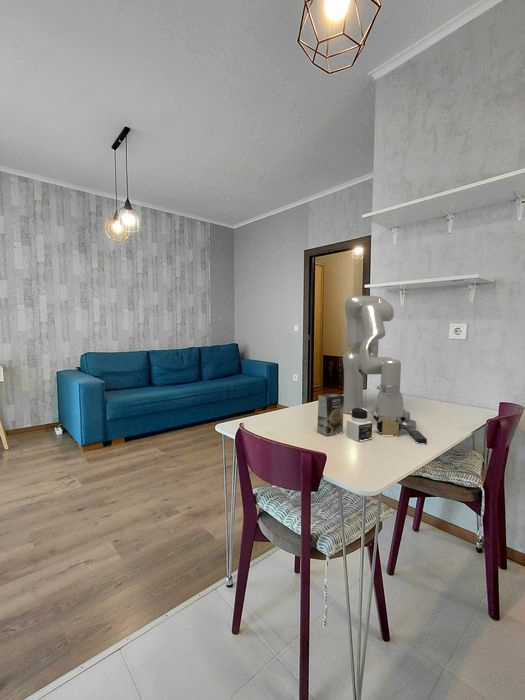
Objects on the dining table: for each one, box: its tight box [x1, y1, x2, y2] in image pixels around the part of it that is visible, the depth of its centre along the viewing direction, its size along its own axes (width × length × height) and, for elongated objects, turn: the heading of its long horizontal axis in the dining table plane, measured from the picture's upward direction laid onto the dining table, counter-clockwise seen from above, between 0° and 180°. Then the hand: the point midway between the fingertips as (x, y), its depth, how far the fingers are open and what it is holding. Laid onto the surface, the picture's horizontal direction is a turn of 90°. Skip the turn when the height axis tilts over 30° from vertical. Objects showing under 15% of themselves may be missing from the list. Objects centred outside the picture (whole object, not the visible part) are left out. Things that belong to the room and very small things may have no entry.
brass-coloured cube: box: [380, 417, 400, 437], centre depth 139 cm, size 6×6×6 cm
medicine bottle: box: [345, 407, 373, 441], centre depth 133 cm, size 7×7×12 cm
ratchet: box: [395, 411, 428, 443], centre depth 141 cm, size 9×26×6 cm, turn 173°
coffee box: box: [317, 392, 344, 437], centre depth 139 cm, size 9×6×16 cm
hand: (388, 431), depth 139 cm, fingers closed on brass-coloured cube, 6 cm apart
